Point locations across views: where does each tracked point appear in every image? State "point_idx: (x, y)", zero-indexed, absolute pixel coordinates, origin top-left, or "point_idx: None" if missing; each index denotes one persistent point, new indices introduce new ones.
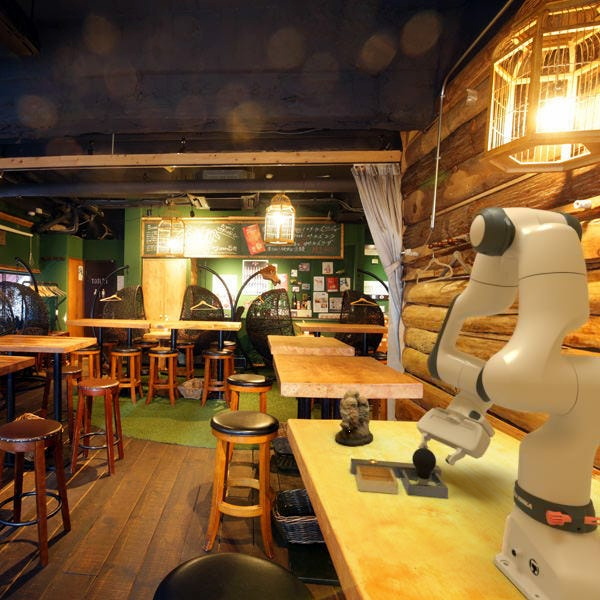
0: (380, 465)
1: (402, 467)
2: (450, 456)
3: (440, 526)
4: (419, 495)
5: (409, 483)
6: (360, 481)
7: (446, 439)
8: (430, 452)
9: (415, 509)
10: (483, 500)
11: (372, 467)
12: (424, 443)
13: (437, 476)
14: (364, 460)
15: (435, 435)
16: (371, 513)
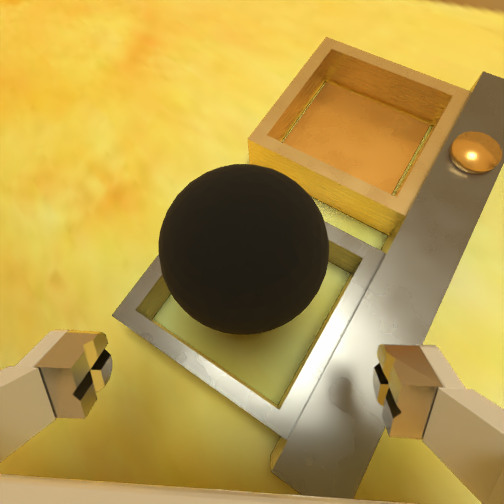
0: (431, 168)
1: (383, 259)
2: (45, 357)
3: (40, 153)
4: None
5: None
6: (323, 42)
7: (92, 484)
8: (182, 231)
9: (145, 152)
10: None
11: (429, 137)
12: (409, 381)
13: (231, 379)
14: (501, 130)
15: (349, 499)
16: (194, 39)
